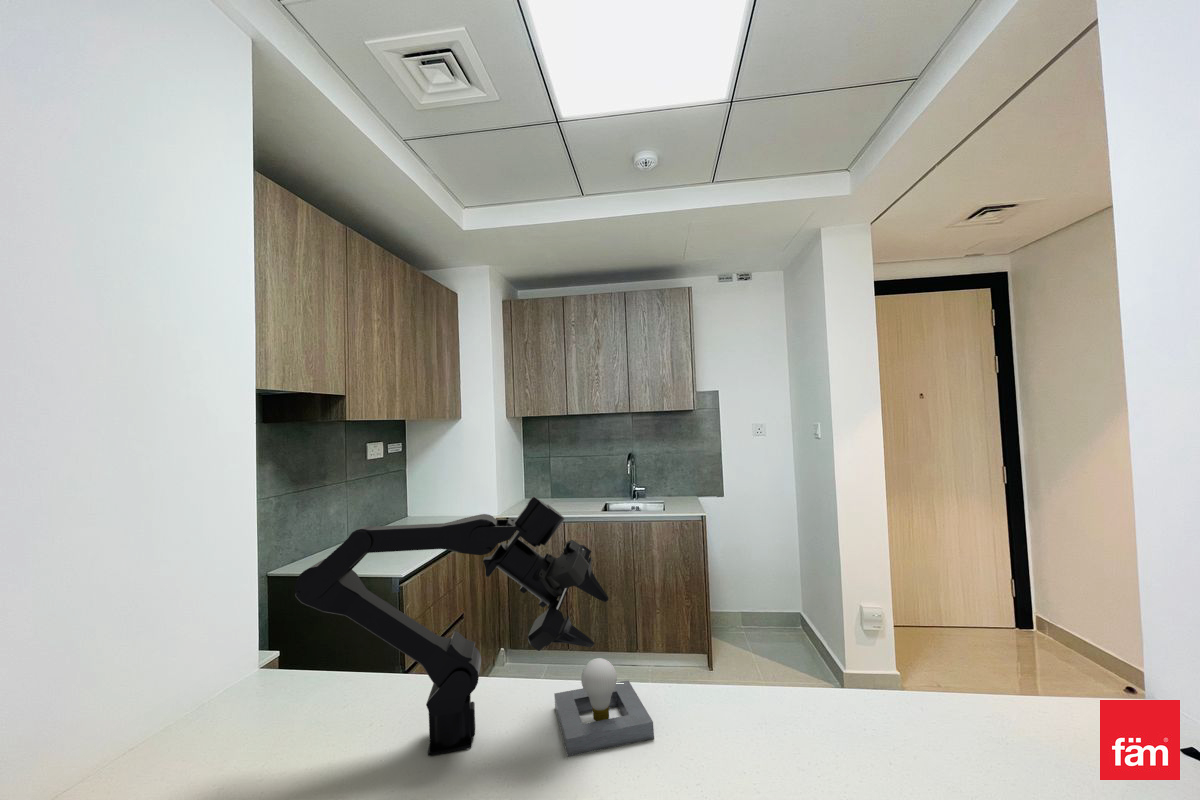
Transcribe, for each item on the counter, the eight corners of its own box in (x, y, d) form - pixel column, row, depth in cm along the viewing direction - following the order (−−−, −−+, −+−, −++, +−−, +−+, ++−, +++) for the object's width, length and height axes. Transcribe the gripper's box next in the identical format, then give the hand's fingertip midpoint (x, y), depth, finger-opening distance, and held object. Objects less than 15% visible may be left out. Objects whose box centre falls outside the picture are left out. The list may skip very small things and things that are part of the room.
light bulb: (619, 732, 77) (615, 667, 78) (582, 734, 77) (579, 669, 78) (618, 711, 83) (615, 651, 84) (584, 713, 83) (581, 652, 84)
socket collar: (567, 756, 72) (566, 739, 72) (555, 708, 85) (554, 693, 85) (654, 738, 75) (653, 721, 75) (629, 694, 88) (628, 680, 88)
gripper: (530, 590, 70) (614, 652, 71) (571, 507, 86) (639, 559, 87) (495, 621, 75) (573, 679, 77) (539, 538, 91) (604, 587, 93)
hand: (600, 621), depth 83 cm, fingers open, 9 cm apart
